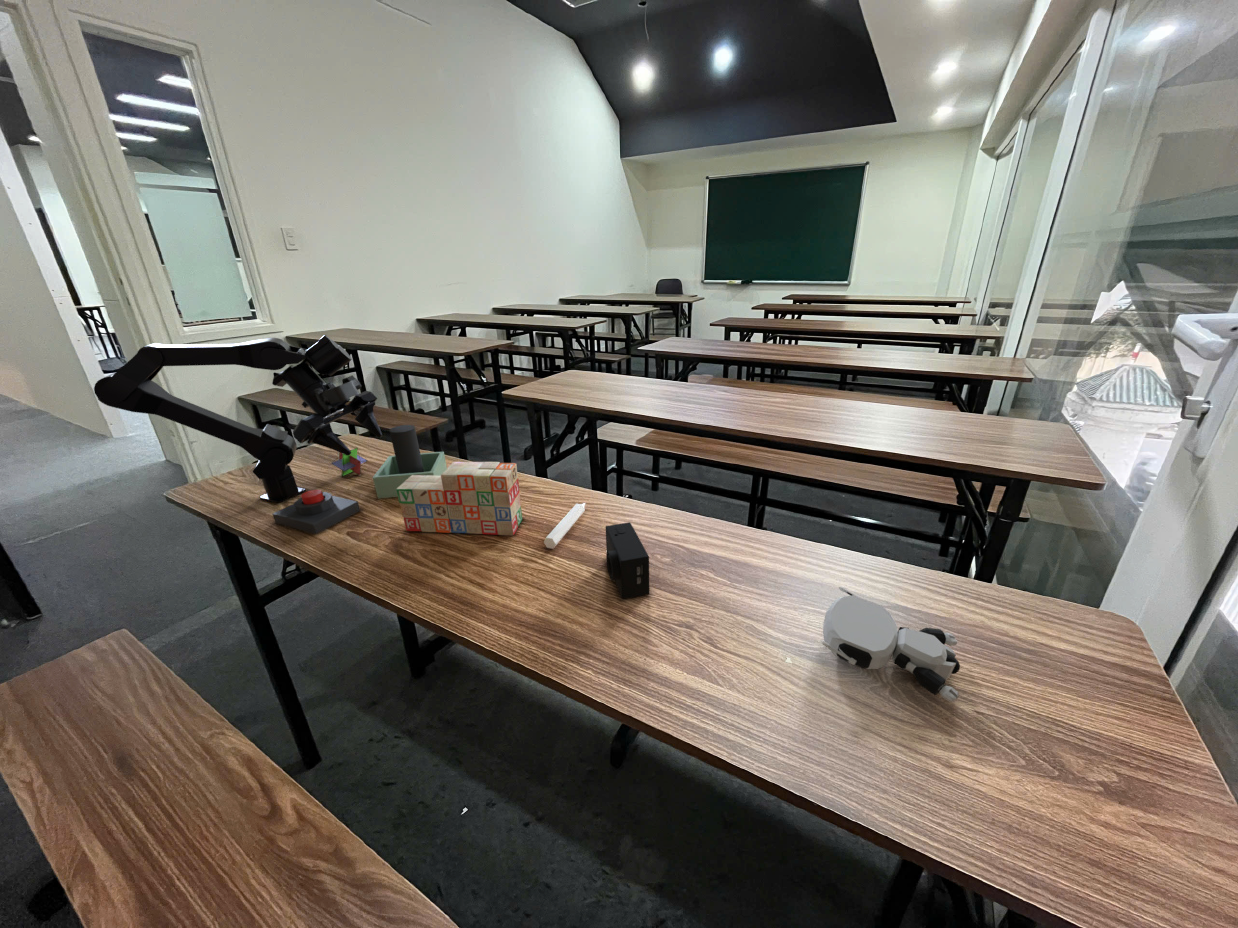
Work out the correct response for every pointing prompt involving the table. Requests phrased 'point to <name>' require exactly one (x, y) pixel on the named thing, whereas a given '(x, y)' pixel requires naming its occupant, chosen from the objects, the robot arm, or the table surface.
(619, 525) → the digital camera
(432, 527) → the stack of blocks
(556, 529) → the marker
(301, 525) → the control block
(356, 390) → the robot arm
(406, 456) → the dark grey cylinder
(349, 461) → the geometric puzzle
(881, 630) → the robot toy
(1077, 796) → the table surface
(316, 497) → the button
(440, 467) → the tote
